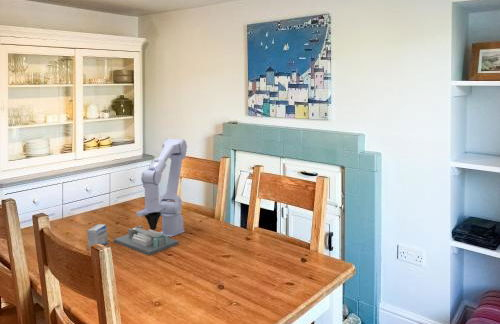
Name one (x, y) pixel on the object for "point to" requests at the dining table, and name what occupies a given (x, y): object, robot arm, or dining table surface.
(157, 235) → the strap
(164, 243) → the heatsink board
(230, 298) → the dining table surface
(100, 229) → the medicine box
